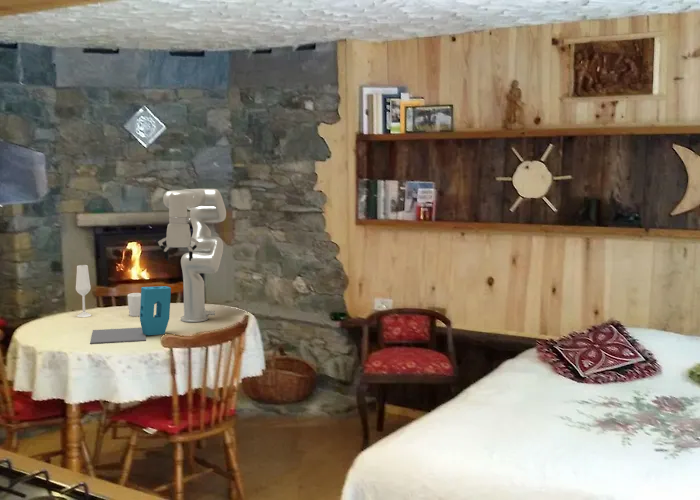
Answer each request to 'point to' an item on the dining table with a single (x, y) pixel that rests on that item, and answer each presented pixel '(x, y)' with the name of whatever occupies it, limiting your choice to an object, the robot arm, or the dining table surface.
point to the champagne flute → (83, 286)
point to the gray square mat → (117, 335)
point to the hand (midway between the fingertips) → (178, 260)
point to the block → (159, 321)
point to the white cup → (134, 304)
